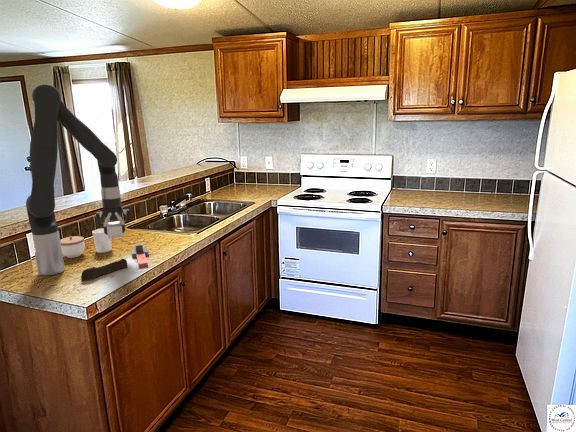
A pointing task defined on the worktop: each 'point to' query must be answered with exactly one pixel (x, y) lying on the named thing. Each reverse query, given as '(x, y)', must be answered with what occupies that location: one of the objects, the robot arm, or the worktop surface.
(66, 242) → the lidded jar
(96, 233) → the white cup
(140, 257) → the red grey toy vehicle
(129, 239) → the worktop surface
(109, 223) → the white cube
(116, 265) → the hand tool
